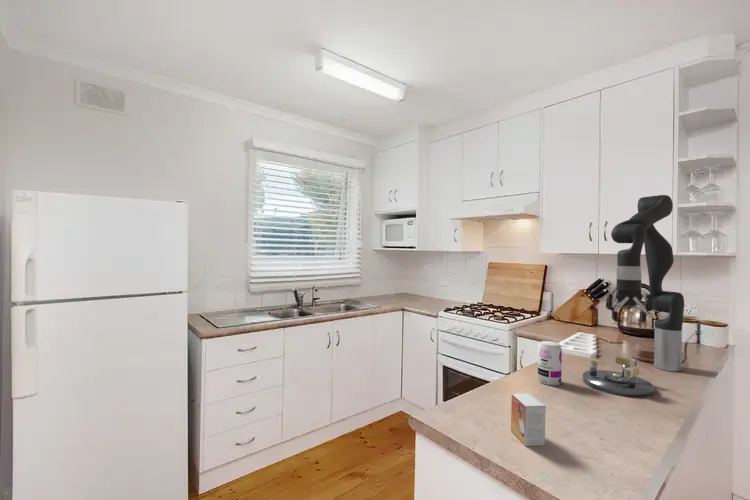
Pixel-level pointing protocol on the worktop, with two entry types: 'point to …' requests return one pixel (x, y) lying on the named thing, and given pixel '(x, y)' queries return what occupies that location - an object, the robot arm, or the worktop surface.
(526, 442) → the small box
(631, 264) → the robot arm
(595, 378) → the base
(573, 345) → the holder
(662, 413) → the worktop surface
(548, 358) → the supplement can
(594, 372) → the knob
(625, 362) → the knob near
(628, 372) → the knob
